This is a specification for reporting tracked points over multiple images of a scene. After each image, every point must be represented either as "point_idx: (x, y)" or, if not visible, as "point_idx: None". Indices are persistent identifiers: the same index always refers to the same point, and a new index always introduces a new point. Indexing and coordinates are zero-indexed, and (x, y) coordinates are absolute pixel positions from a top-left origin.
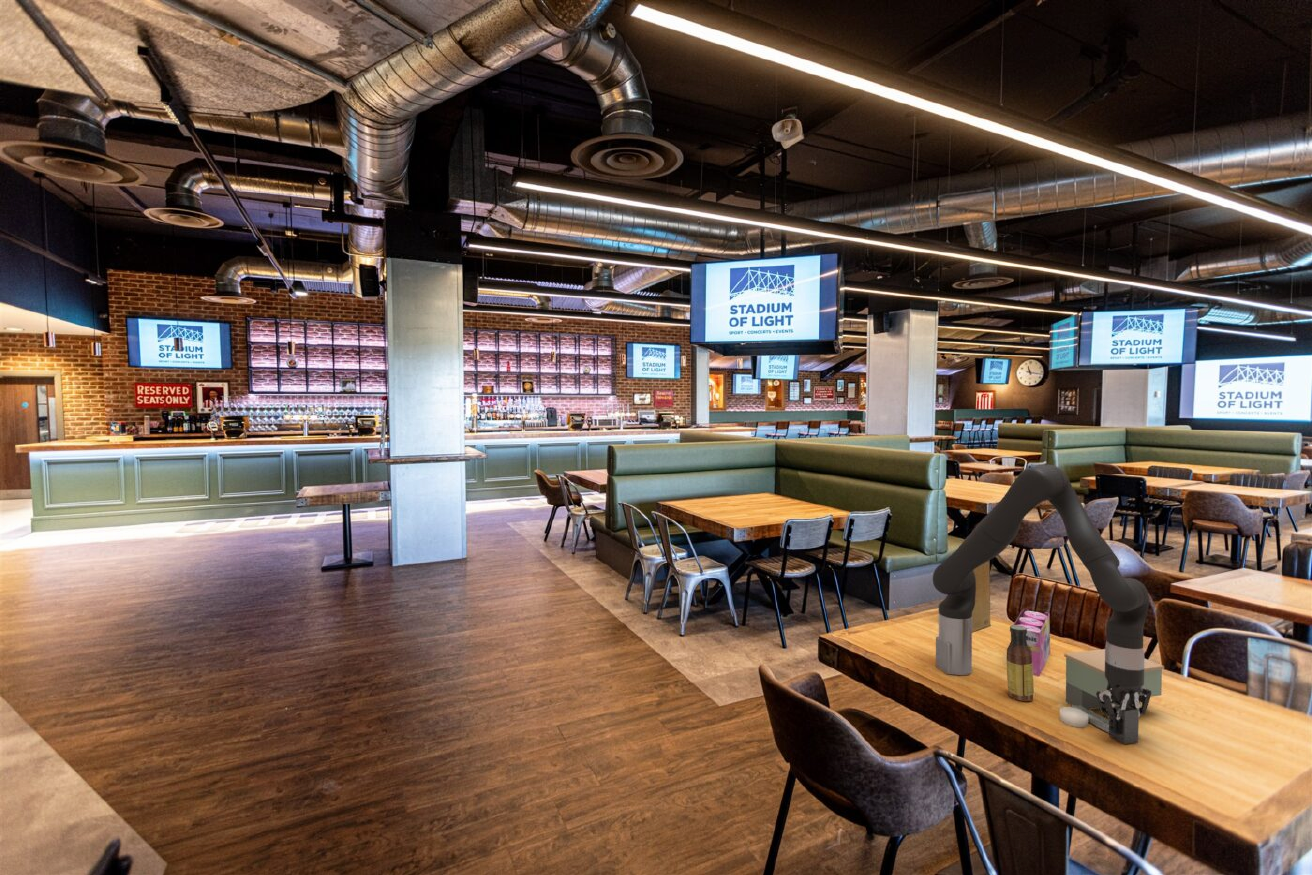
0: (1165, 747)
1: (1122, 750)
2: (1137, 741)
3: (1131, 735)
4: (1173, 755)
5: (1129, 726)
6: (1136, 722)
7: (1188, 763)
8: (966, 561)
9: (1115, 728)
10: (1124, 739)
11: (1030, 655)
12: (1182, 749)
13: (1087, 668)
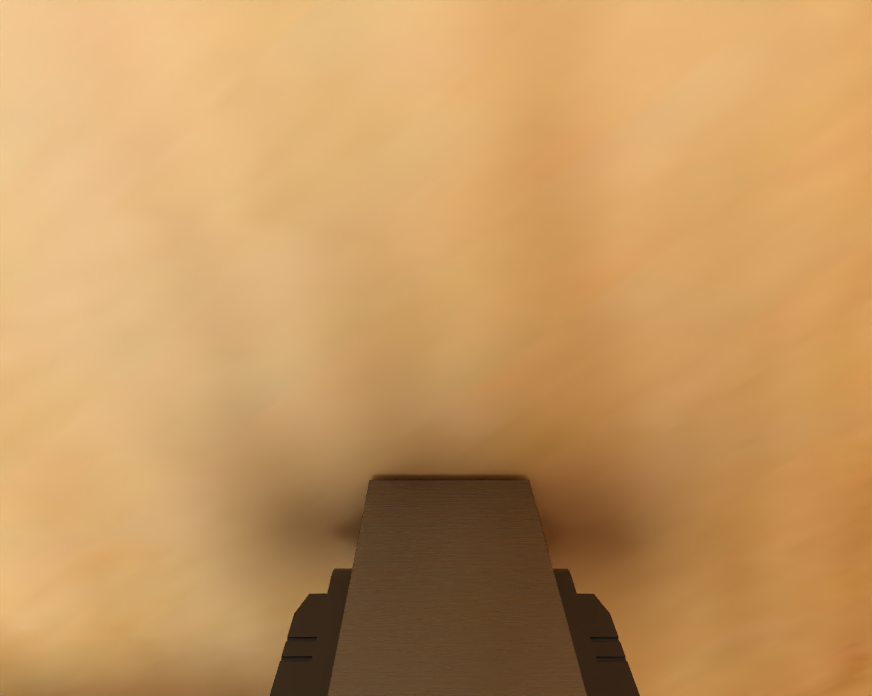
0: (180, 370)
1: (638, 413)
2: (378, 483)
3: (451, 532)
4: (226, 239)
5: (490, 626)
6: (368, 667)
7: (197, 63)
8: None
9: (603, 633)
10: (535, 510)
11: None
12: (33, 308)
13: None
